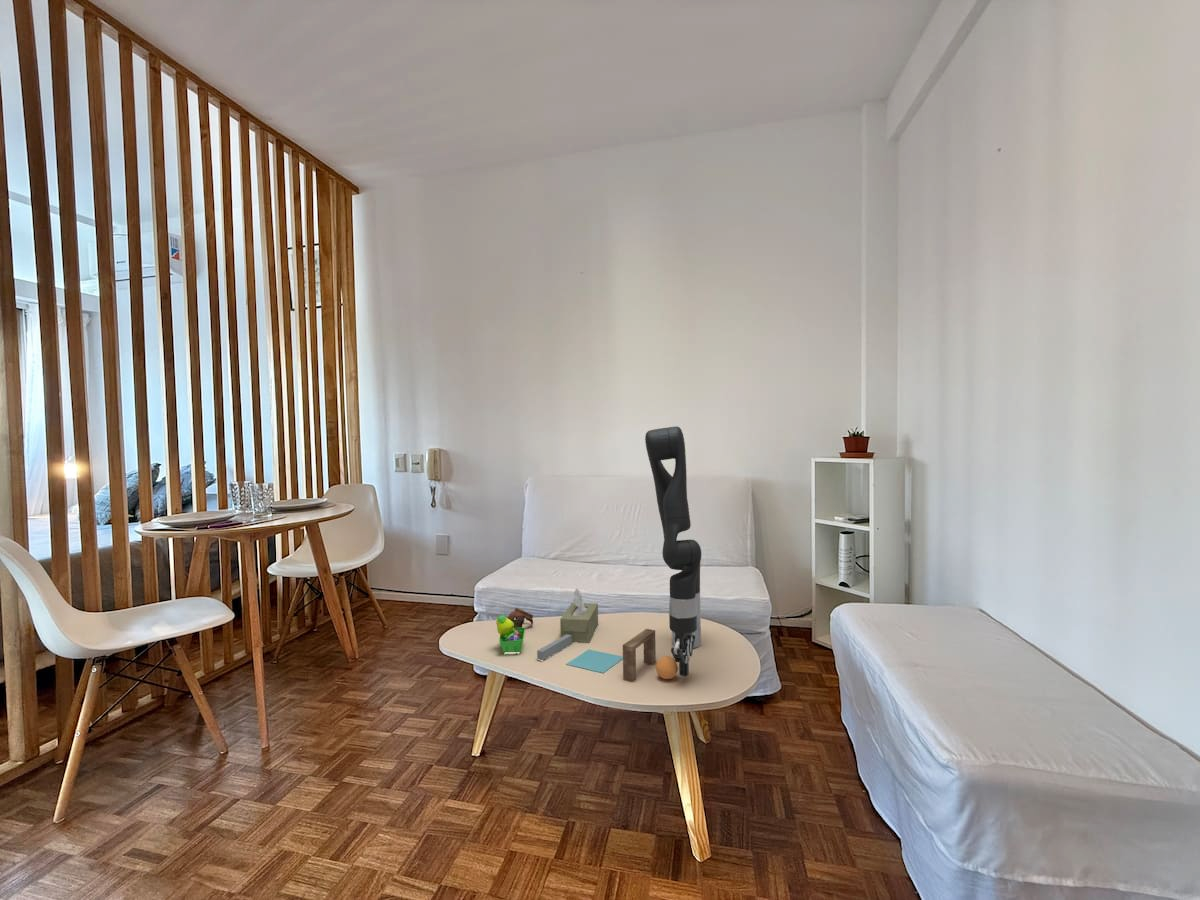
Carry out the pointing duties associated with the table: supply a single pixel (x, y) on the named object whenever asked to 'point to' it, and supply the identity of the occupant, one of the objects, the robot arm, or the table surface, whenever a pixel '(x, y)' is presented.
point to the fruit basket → (509, 635)
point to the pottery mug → (520, 617)
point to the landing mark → (595, 661)
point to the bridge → (630, 653)
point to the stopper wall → (554, 647)
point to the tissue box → (580, 620)
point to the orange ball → (666, 667)
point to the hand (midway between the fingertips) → (684, 675)
